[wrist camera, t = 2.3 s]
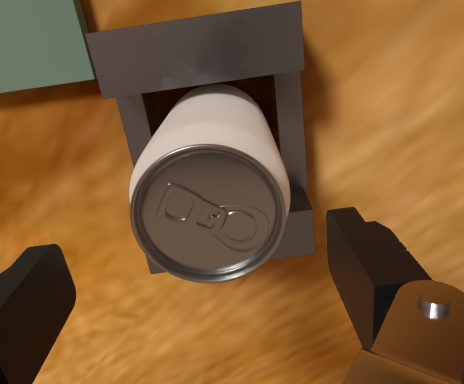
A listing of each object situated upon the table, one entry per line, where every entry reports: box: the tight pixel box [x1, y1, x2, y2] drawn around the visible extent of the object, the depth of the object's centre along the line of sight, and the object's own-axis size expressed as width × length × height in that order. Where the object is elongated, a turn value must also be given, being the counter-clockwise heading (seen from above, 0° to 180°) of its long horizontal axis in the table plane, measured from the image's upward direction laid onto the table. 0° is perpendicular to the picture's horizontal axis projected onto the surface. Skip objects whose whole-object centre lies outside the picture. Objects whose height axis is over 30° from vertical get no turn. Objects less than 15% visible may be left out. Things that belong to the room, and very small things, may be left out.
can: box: [129, 84, 290, 283], centre depth 19 cm, size 6×6×12 cm
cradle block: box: [85, 1, 315, 274], centre depth 22 cm, size 11×14×5 cm
